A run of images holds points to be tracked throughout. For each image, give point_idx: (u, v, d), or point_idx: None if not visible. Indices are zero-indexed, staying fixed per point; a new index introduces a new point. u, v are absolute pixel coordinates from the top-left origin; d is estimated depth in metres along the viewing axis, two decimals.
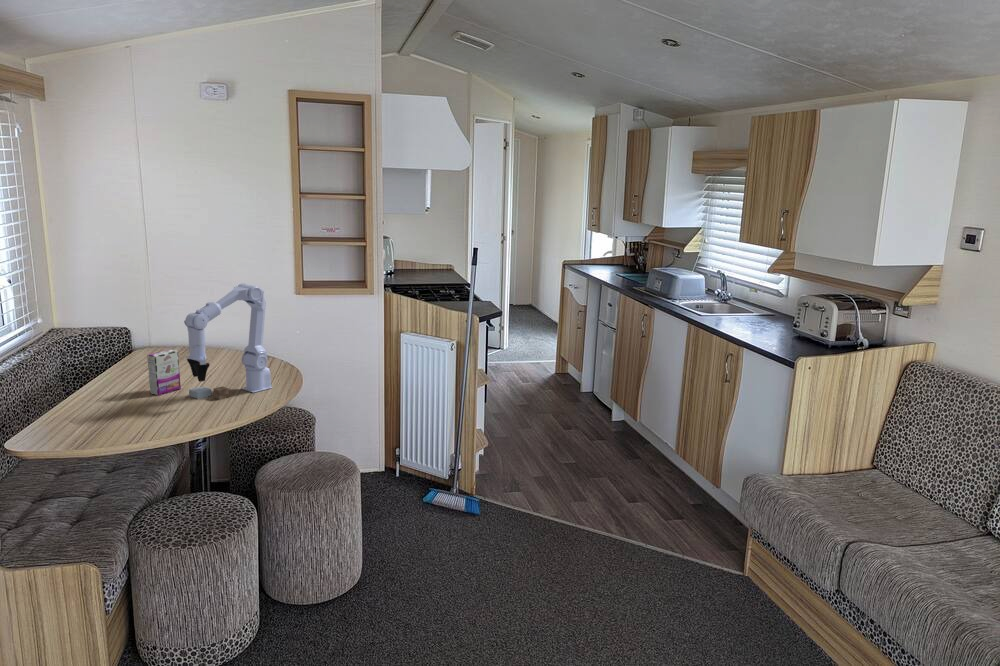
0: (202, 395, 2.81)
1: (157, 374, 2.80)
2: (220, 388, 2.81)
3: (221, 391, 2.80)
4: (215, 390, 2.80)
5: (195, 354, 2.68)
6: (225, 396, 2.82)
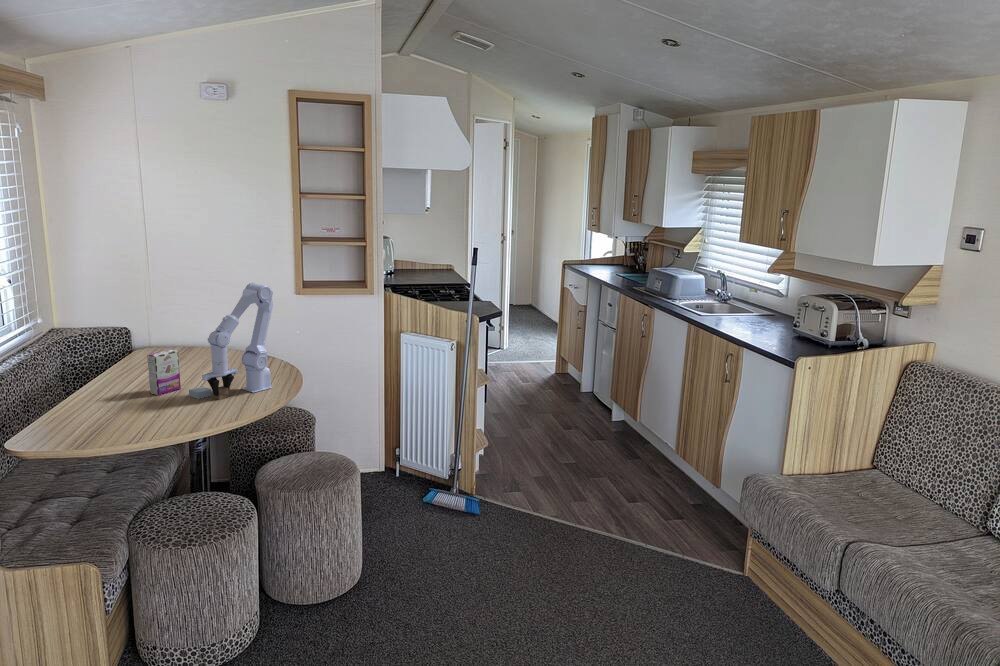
0: (202, 395, 2.81)
1: (157, 374, 2.80)
2: (219, 388, 2.81)
3: (221, 391, 2.80)
4: None
5: (212, 369, 2.79)
6: (225, 396, 2.81)
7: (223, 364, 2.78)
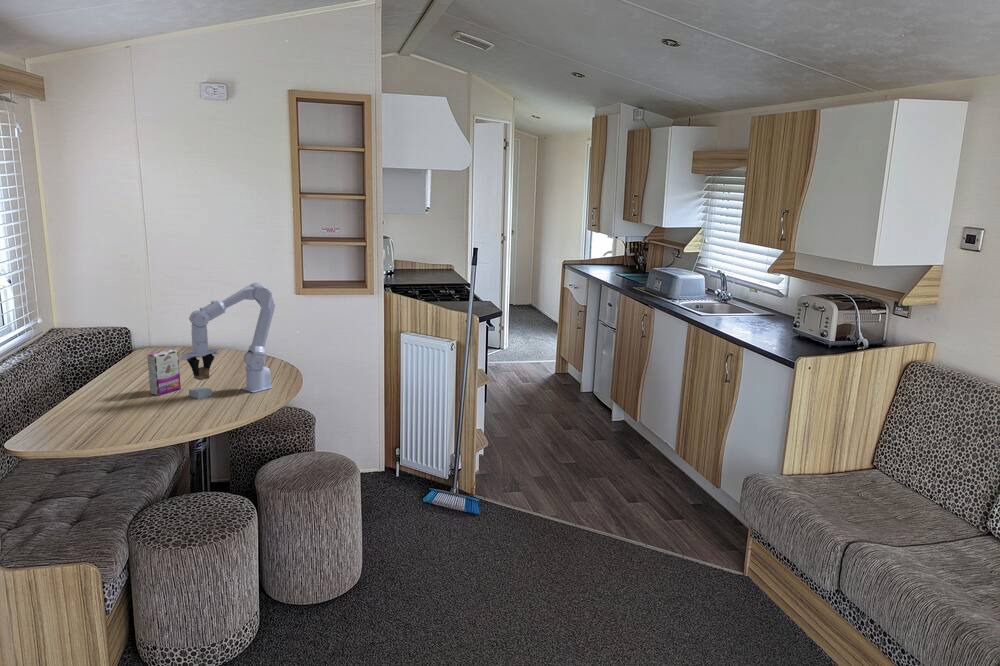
0: (202, 395, 2.81)
1: (157, 374, 2.80)
2: (200, 368, 2.81)
3: (201, 371, 2.79)
4: None
5: (192, 349, 2.78)
6: (205, 376, 2.81)
7: (203, 344, 2.77)
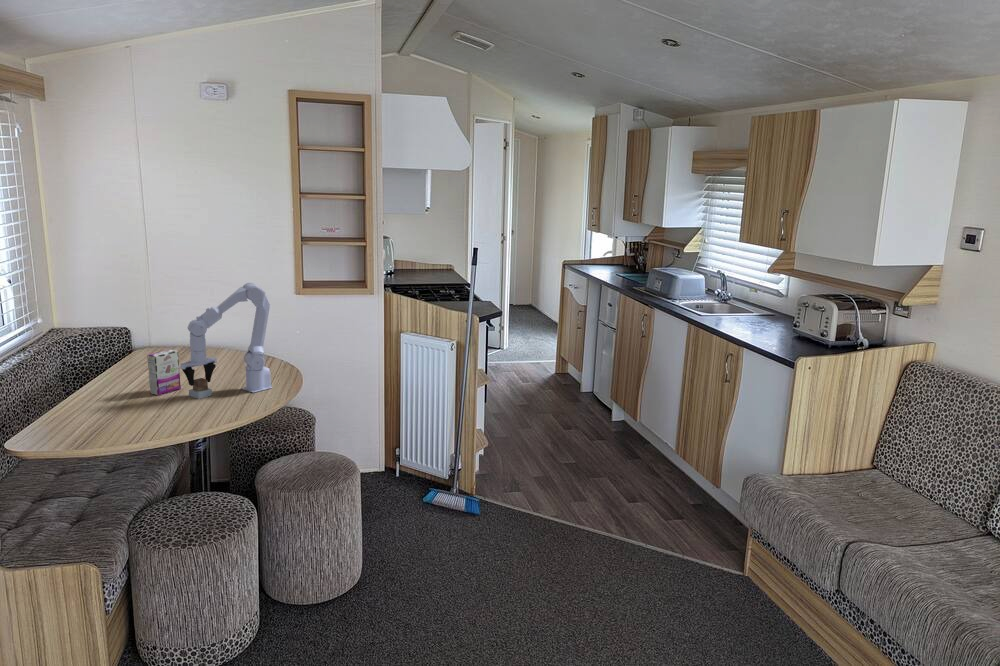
0: (202, 395, 2.81)
1: (157, 374, 2.80)
2: (199, 380, 2.82)
3: (200, 383, 2.80)
4: (194, 381, 2.81)
5: None
6: (204, 388, 2.82)
7: (201, 353, 2.78)
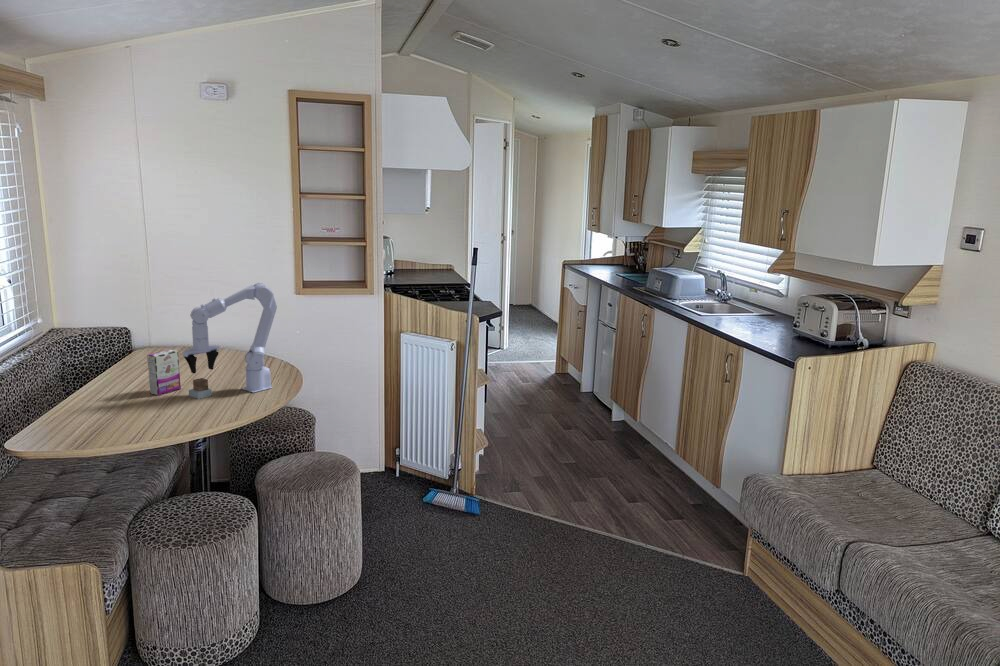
0: (202, 395, 2.81)
1: (157, 374, 2.80)
2: (199, 380, 2.82)
3: (200, 382, 2.80)
4: (194, 381, 2.81)
5: (193, 345, 2.80)
6: (204, 388, 2.82)
7: (204, 340, 2.79)
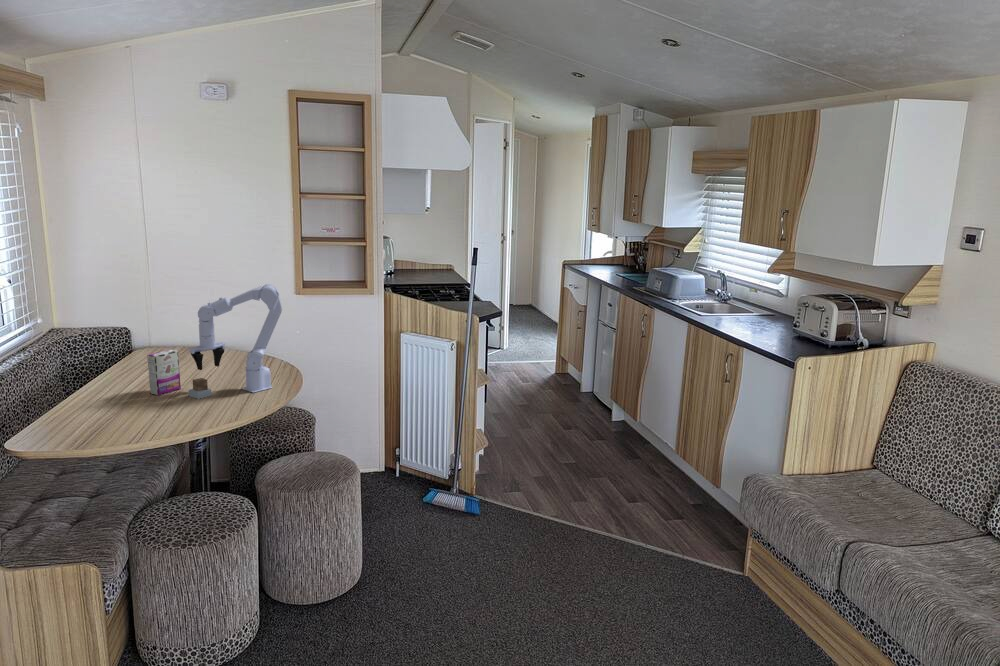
0: (202, 395, 2.81)
1: (157, 374, 2.80)
2: (198, 380, 2.82)
3: (199, 382, 2.81)
4: (194, 381, 2.81)
5: None
6: (204, 387, 2.82)
7: (210, 338, 2.84)
